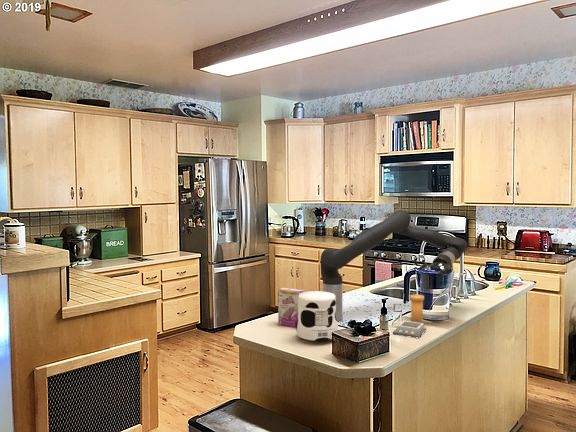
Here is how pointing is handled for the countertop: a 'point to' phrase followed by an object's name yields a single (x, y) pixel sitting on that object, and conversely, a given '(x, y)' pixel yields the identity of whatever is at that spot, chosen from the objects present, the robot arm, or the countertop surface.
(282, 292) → the candy bar box
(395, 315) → the countertop surface
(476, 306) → the countertop surface
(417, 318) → the orange flared cylinder
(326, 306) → the milk container
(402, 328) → the breaker panel
